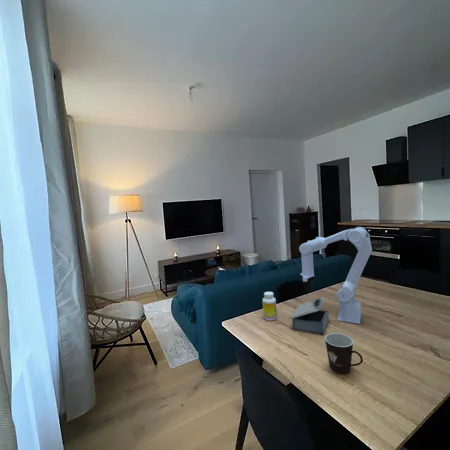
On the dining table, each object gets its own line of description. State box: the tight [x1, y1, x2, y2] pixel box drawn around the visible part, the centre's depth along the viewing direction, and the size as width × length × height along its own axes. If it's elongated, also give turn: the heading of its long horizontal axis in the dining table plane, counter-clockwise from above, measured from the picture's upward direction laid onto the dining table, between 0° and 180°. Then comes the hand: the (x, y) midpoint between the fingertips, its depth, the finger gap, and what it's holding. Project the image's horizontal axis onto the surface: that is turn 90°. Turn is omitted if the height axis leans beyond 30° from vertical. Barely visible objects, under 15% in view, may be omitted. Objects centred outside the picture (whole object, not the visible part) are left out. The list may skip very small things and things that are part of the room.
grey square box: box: [291, 309, 330, 336], centre depth 114 cm, size 13×14×5 cm
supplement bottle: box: [262, 291, 278, 321], centre depth 124 cm, size 7×7×13 cm
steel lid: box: [290, 296, 326, 320], centre depth 114 cm, size 14×15×2 cm
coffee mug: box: [324, 332, 364, 375], centre depth 82 cm, size 12×9×10 cm
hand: (309, 291), depth 129 cm, fingers open, 3 cm apart
